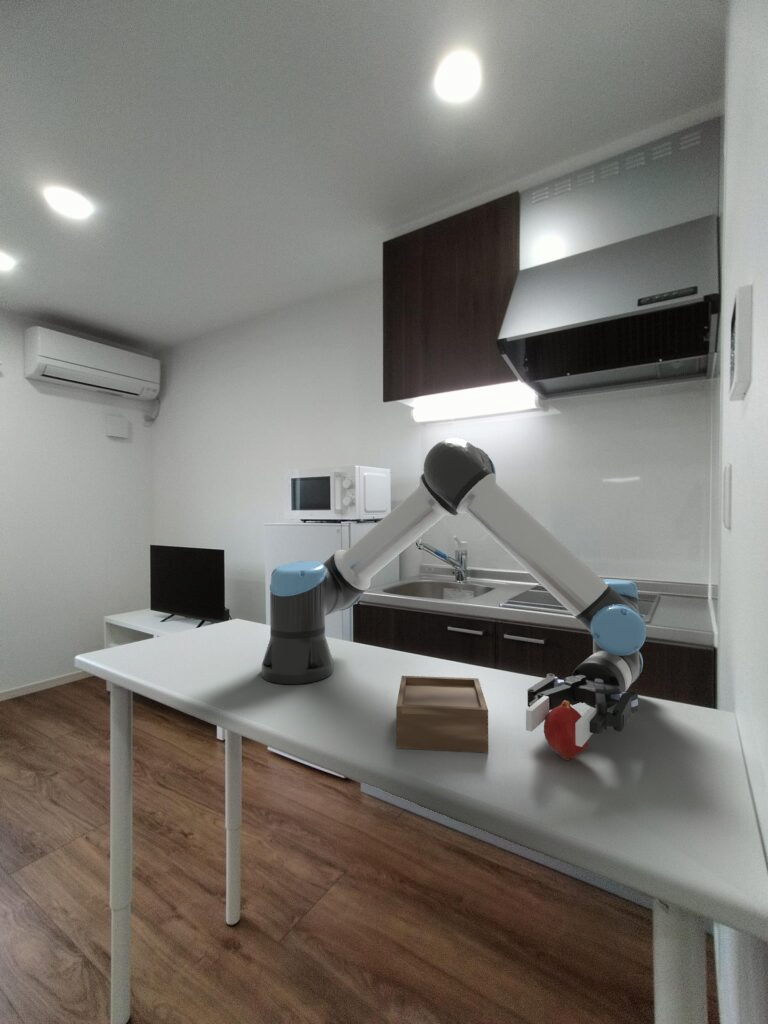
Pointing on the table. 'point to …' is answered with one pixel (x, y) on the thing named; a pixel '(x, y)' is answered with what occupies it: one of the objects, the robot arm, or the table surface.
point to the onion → (563, 730)
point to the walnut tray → (441, 714)
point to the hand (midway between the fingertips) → (553, 727)
